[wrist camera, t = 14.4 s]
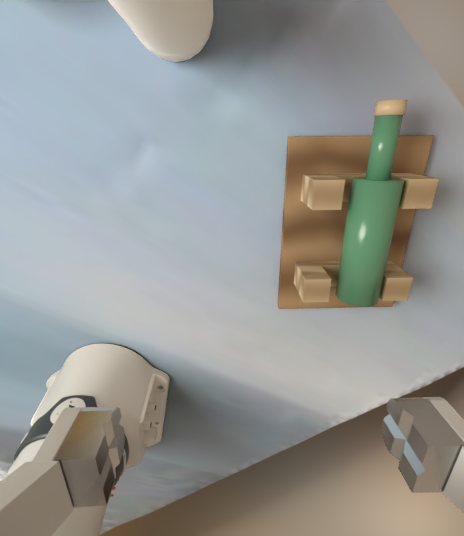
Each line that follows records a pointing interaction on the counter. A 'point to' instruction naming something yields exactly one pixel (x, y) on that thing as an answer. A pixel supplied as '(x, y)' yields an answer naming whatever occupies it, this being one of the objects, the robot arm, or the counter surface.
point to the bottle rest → (342, 215)
